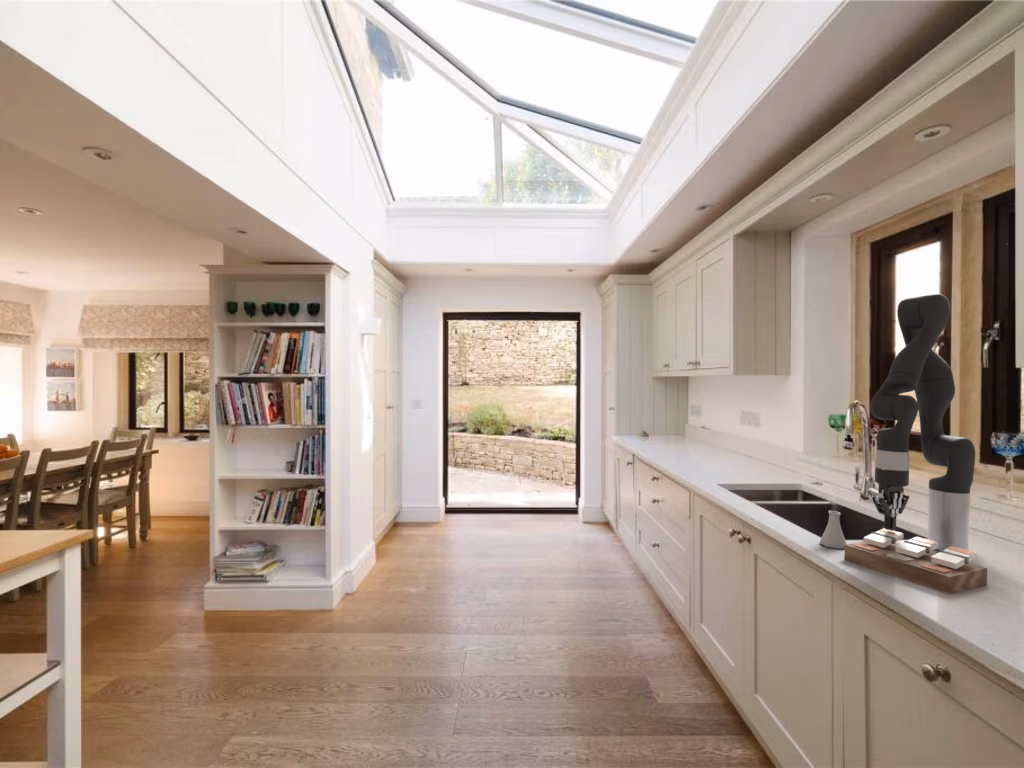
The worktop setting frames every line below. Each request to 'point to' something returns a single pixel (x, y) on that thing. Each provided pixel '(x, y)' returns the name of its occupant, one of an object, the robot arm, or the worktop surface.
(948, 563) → the rocker
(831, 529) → the flask
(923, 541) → the rocker
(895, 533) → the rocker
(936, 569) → the switch unit
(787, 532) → the worktop surface
